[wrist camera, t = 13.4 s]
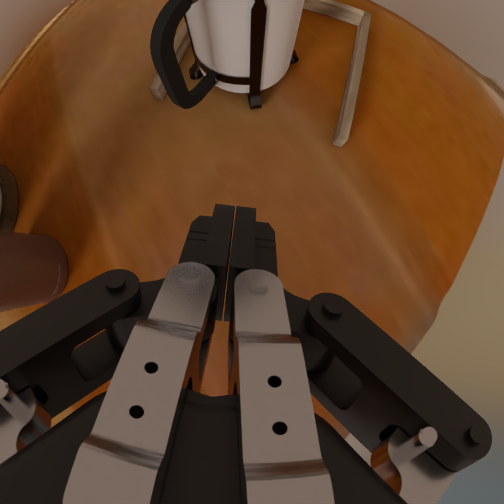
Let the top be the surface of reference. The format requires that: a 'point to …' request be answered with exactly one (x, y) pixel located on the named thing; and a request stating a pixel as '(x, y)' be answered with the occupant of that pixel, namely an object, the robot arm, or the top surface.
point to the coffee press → (226, 46)
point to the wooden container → (7, 200)
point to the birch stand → (325, 4)
